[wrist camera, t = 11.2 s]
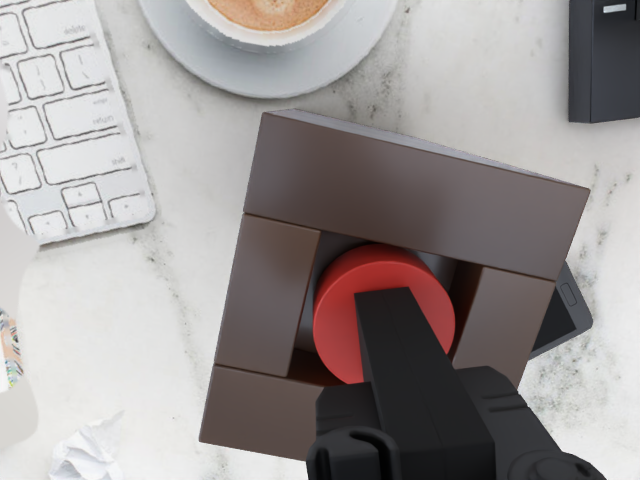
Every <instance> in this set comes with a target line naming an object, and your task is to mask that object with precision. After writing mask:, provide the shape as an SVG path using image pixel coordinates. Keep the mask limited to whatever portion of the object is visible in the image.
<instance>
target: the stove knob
mask: <svg viewBox="0 0 640 480" xmlns="http://www.w3.org/2000/svg"><path fill="white" fill-rule="evenodd" d="M636 20H640V0H637V13H636Z"/></svg>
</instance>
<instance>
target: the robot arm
mask: <svg viewBox="0 0 640 480" xmlns="http://www.w3.org/2000/svg"><path fill="white" fill-rule="evenodd" d="M354 300H355V309H356V318H357V327H358V336H359V345H360V354H361V362H362V371H363V380H364V382H360V383H352V384H344V385H335V386H327V387H324V389H323V390H322V392H321V394H320V395H319V397H318V398H317V400H316V401H315V406H316V441H315V442H314V443H313V444H312V446H311V447H310V448H309V450H308V454H307V457H306V466H307V473H308V480H607V479H606V478H605V477H604V476H603V474H601V473H600V472H599V471H598V470H597V469H596V468H595V467H594V466H593V465H591V464H590V463H589V462H587V461H585V460H583V459H581V458H579V457H577V456H575V455H573V454H569V453H565V452H562V451H561V449H560V448H559V447H558V445H557V444H556V442H555V441H554V440H553V438H552V437H551V436H550V434H549V433H548V432H547V430H546V429H545V428H544V426H543V425H542V423H541V422H540V421H539V419H538V418H537V417H536V415H535V414H534V413H533V411H532V410H531V408H530V407H528V406H527V403H526V402H525V400H524V399H523V398H522V396H521V395H519V394H518V391H517V389H516V388H515V387H514V385H513V384H512V383H511V381H510V380H509V379H508V377H507V376H505V375H503V374H502V373H500V372H498V371H497V370H495V369H493V368H492V367H490V366H479V367H471V368H463V369H454V367H453V366H452V364H451V362H450V360H449V358H448V356H447V355H446V353H445V351H444V349H443V347H442V346H441V344H440V342H439V340H438V338H437V337H436V335H435V333H434V331H433V329H432V328H431V326H430V324H429V322H428V320H427V319H426V317H425V315H424V313H423V311H422V310H421V308H420V306H419V304H418V302H417V301H416V299H415V297H414V295H413V293H412V292H411V290H410V288H409V286H408V287H400V288H392V289H384V290H375V291H367V292H359V293H354Z"/></svg>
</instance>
